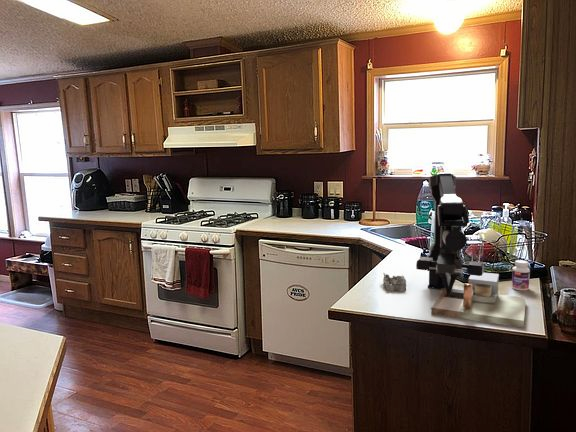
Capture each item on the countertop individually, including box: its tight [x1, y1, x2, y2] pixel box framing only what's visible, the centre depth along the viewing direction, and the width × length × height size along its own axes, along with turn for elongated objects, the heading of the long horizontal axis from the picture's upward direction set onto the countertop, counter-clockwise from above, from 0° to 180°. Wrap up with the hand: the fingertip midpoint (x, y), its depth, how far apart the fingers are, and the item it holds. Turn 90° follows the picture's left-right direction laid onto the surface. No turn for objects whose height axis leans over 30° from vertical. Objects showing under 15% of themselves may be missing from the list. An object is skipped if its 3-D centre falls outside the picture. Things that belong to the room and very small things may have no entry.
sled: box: [462, 282, 497, 308], centre depth 142 cm, size 8×15×7 cm, turn 152°
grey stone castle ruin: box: [382, 272, 407, 292], centre depth 167 cm, size 11×8×4 cm
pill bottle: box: [511, 259, 531, 292], centre depth 161 cm, size 5×5×10 cm
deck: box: [430, 288, 527, 329], centre depth 143 cm, size 25×21×2 cm
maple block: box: [475, 283, 492, 297], centre depth 146 cm, size 4×4×4 cm
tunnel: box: [468, 272, 500, 297], centre depth 146 cm, size 8×9×7 cm
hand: (448, 293), depth 140 cm, fingers closed
